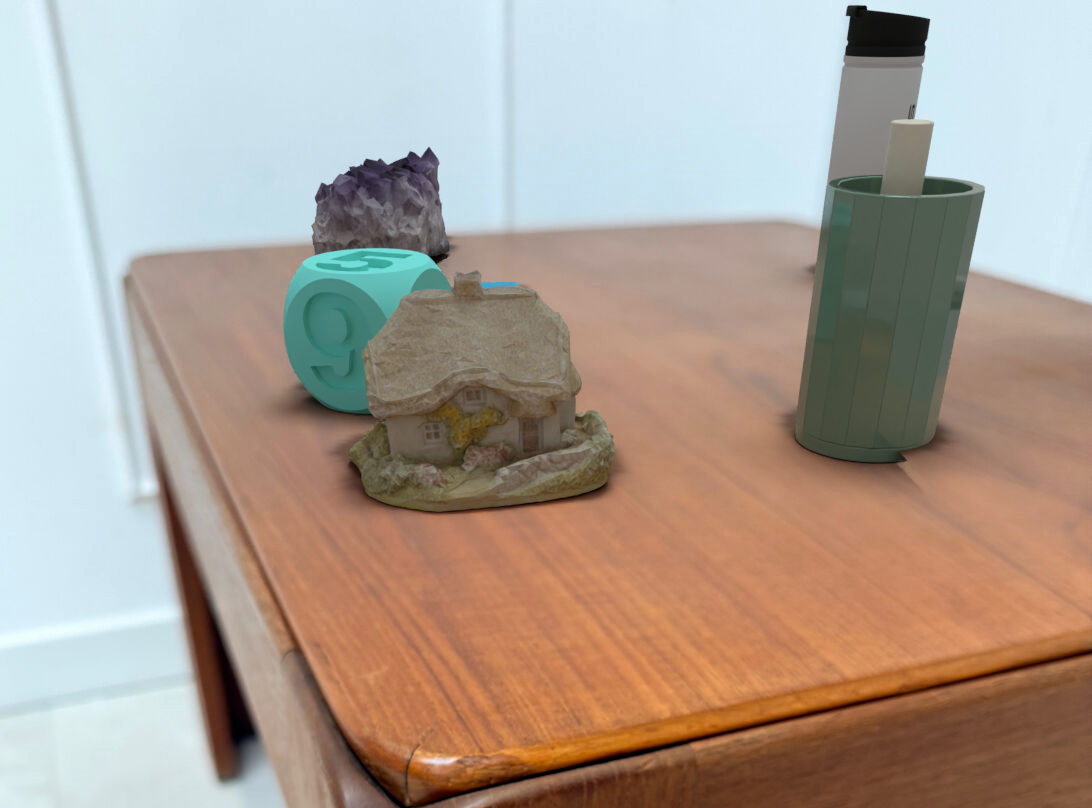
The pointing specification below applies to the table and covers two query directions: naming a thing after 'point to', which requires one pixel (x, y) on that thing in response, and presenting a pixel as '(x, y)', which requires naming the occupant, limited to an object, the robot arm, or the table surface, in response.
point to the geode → (382, 208)
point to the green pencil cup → (884, 315)
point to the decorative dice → (347, 316)
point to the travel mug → (875, 87)
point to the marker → (907, 156)
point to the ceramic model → (477, 403)
